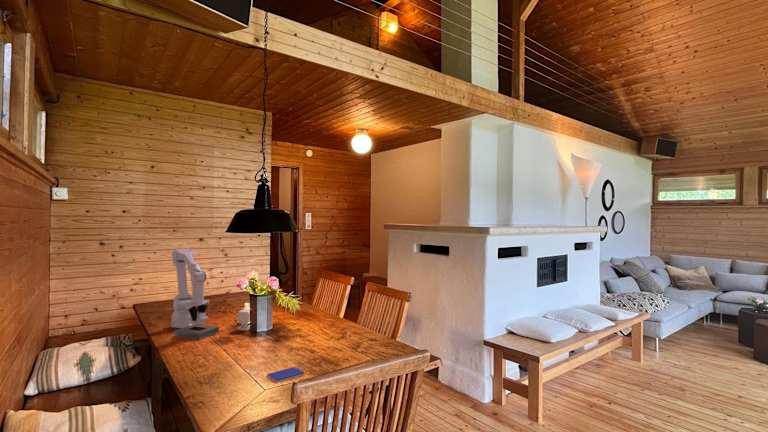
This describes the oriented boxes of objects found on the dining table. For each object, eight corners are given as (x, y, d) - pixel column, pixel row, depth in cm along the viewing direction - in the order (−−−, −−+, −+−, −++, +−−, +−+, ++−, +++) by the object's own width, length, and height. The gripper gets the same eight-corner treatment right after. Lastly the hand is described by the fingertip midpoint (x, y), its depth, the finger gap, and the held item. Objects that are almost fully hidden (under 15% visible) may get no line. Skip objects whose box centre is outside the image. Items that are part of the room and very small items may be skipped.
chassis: (174, 336, 206) (175, 330, 206) (195, 329, 219) (195, 323, 219) (199, 339, 201) (199, 334, 201) (218, 332, 214) (218, 326, 214)
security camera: (252, 327, 226) (253, 309, 226) (247, 330, 219) (247, 312, 219) (242, 326, 227) (242, 309, 227) (236, 329, 220) (236, 312, 220)
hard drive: (294, 366, 166) (266, 373, 158) (304, 372, 160) (275, 380, 152) (294, 369, 166) (266, 377, 158) (304, 375, 160) (275, 384, 152)
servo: (208, 322, 210) (208, 311, 210) (202, 324, 207) (202, 313, 207) (192, 320, 214) (192, 309, 214) (186, 322, 210) (186, 310, 210)
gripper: (193, 297, 202) (193, 323, 202) (214, 292, 216) (213, 317, 216) (182, 296, 204) (182, 322, 204) (203, 291, 218) (203, 315, 218)
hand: (197, 319), depth 210 cm, fingers closed on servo, 4 cm apart
